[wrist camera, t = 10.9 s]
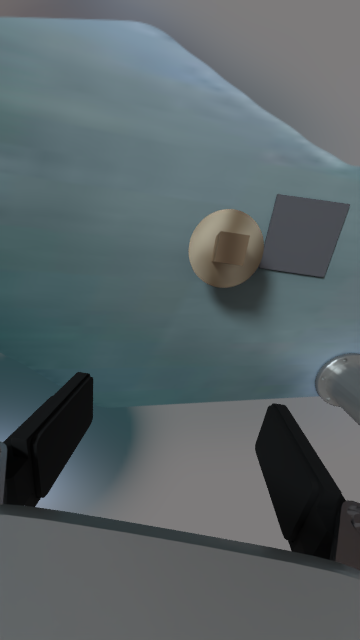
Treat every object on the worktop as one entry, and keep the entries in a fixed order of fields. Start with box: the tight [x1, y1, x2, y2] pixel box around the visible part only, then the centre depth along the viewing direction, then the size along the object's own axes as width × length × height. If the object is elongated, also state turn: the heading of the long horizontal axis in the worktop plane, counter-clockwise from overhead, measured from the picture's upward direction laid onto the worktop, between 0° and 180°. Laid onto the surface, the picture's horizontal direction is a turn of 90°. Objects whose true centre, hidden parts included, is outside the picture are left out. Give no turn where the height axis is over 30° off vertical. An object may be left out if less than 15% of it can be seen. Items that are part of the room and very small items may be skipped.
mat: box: [259, 194, 350, 277], centre depth 34 cm, size 12×12×1 cm
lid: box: [189, 209, 264, 288], centre depth 27 cm, size 11×11×6 cm
